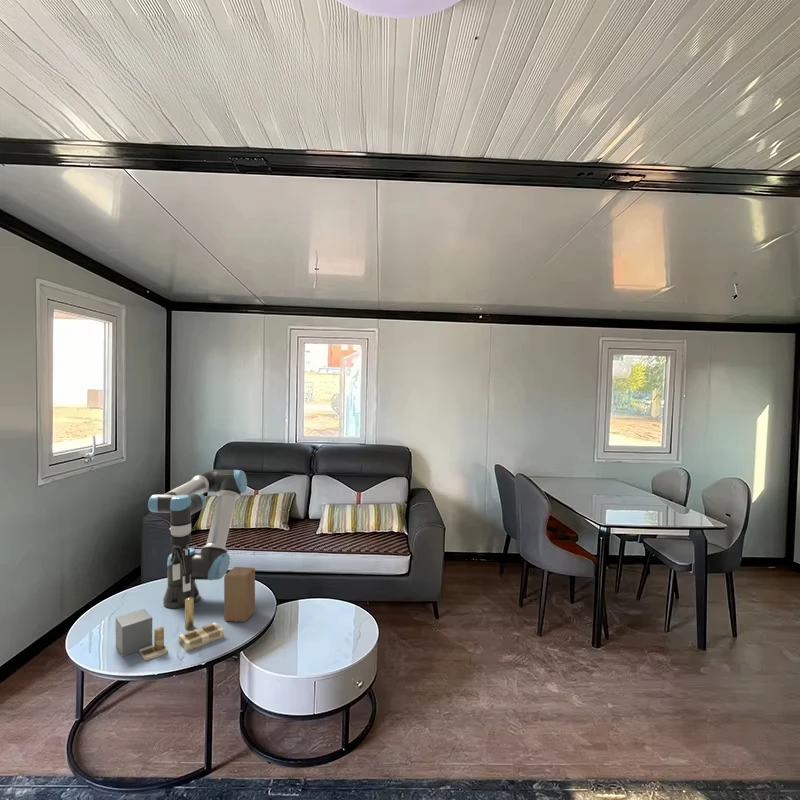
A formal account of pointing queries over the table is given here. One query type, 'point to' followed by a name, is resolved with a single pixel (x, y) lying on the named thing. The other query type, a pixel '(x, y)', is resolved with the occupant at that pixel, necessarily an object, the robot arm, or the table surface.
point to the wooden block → (239, 594)
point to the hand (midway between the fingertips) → (181, 585)
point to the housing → (133, 631)
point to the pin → (189, 613)
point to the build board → (200, 636)
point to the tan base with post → (155, 646)
